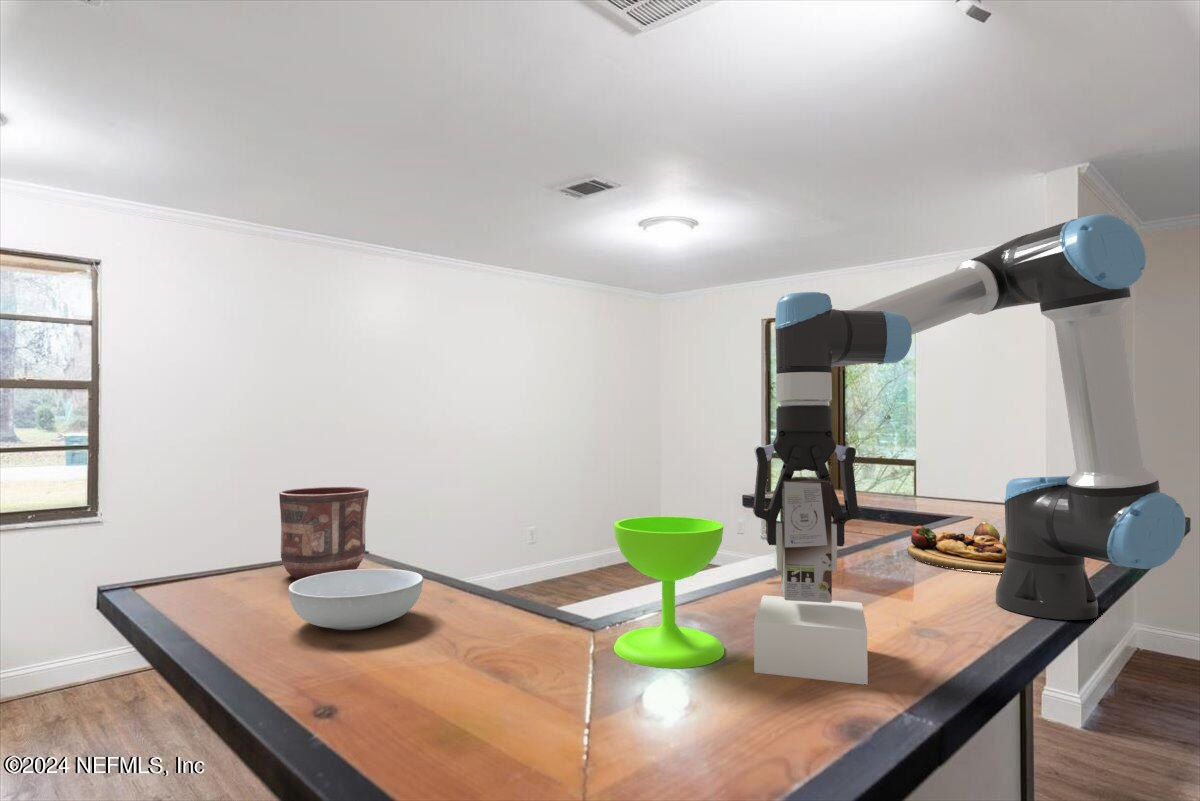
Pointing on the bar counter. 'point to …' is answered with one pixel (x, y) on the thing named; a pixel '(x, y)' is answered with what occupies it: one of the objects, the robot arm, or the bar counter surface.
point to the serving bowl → (355, 597)
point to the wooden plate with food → (960, 549)
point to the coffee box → (806, 539)
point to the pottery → (322, 529)
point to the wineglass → (668, 586)
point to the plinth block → (811, 640)
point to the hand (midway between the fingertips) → (805, 568)
